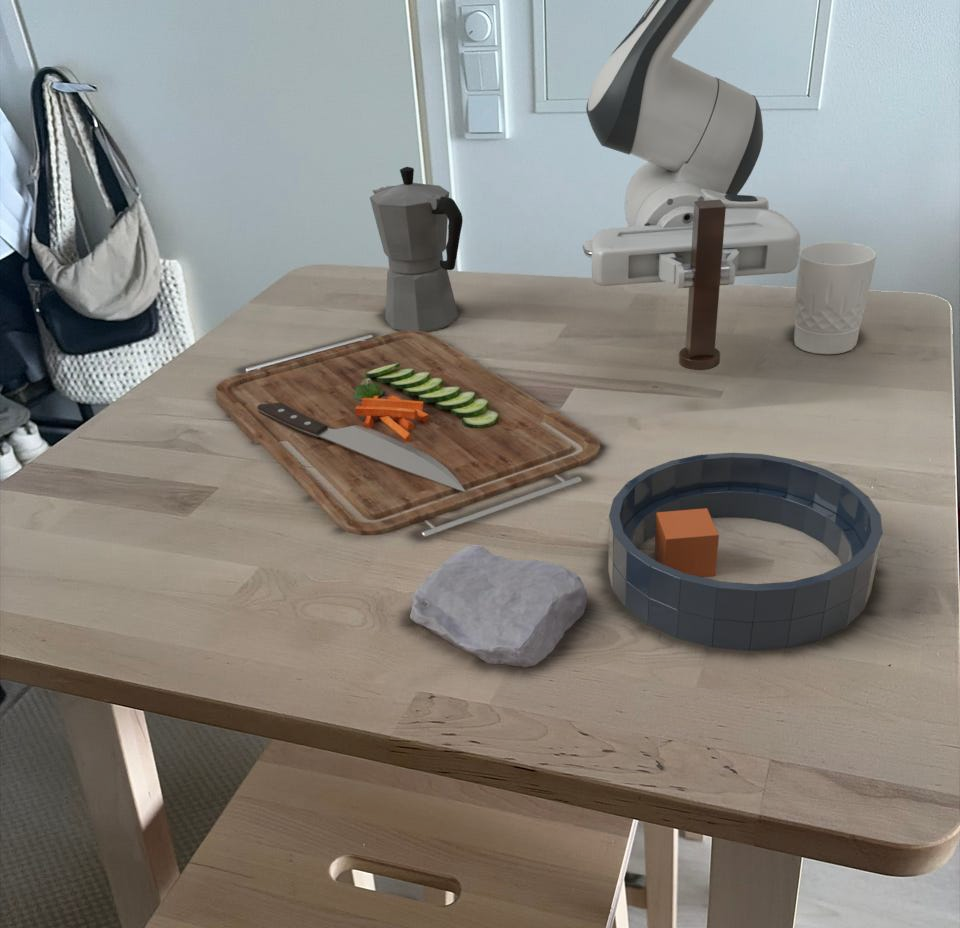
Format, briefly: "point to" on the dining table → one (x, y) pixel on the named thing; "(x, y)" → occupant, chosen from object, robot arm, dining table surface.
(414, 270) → the coffeepot
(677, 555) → the block
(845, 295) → the white cup
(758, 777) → the dining table surface
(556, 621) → the stone block
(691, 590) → the faceted bottomless ring
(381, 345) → the chopping board
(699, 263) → the stick
